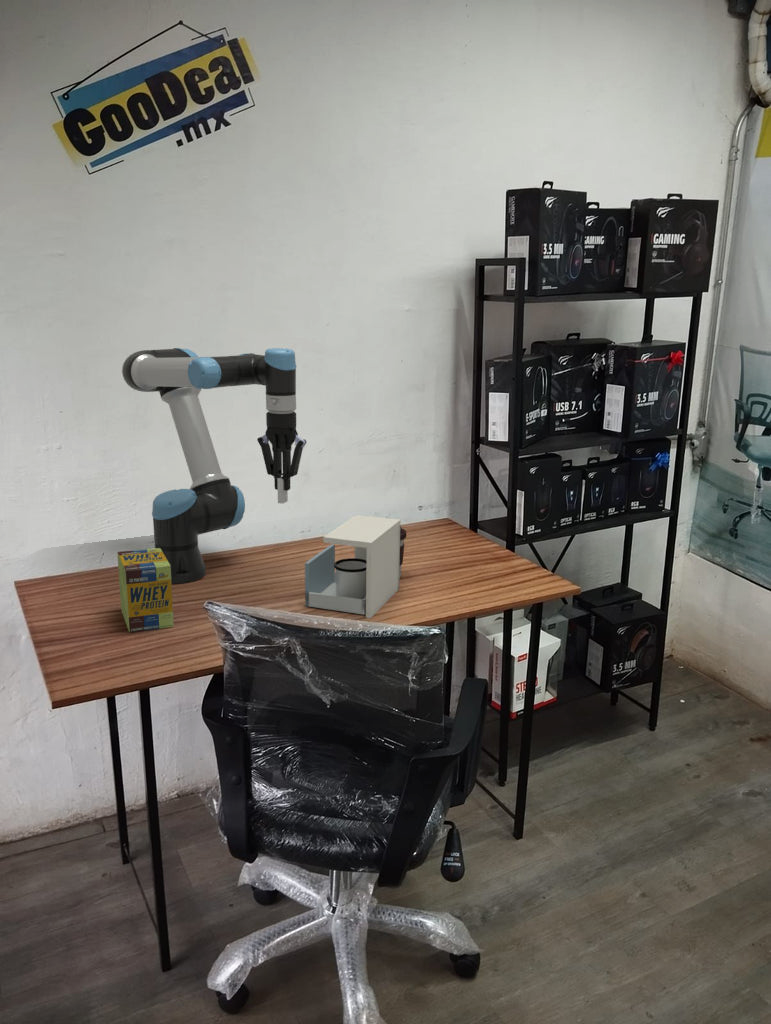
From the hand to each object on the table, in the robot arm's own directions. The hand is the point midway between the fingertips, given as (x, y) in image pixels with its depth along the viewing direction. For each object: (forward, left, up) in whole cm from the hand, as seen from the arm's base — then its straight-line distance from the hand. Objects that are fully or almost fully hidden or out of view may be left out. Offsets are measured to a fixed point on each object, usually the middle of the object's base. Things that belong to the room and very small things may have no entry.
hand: (282, 502), depth 219 cm
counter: (+22, +2, -24) cm, 33 cm away
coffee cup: (+22, +20, -25) cm, 39 cm away
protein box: (-23, -29, -25) cm, 45 cm away
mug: (+19, 0, -23) cm, 30 cm away
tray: (+18, 0, -24) cm, 30 cm away
